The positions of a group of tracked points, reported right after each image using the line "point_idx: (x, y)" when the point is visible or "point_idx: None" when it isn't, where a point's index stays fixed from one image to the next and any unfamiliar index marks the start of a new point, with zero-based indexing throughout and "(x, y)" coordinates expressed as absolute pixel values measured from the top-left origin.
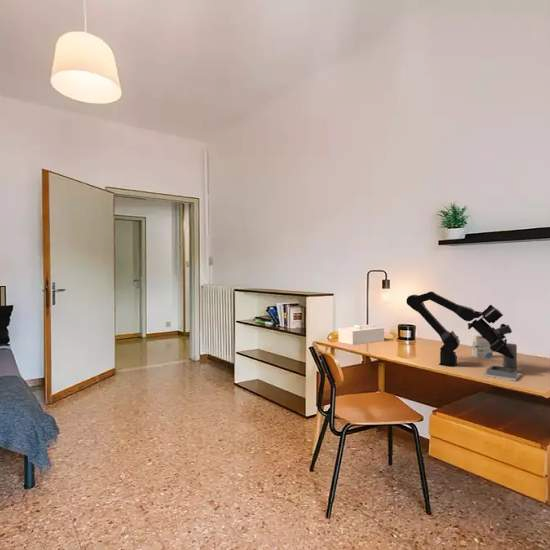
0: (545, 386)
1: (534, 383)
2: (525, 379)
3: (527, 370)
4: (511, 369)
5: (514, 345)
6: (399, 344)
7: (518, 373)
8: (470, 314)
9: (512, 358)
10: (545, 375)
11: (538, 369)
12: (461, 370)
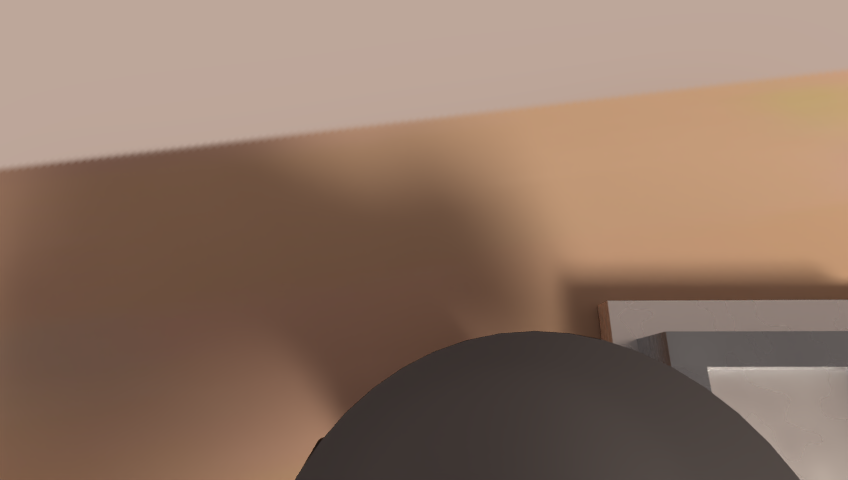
0: (841, 70)
1: (818, 150)
2: (729, 238)
3: (277, 290)
4: None
5: (687, 386)
6: None
7: (639, 319)
8: None
9: None
10: (408, 121)
11: (160, 206)
12: None
